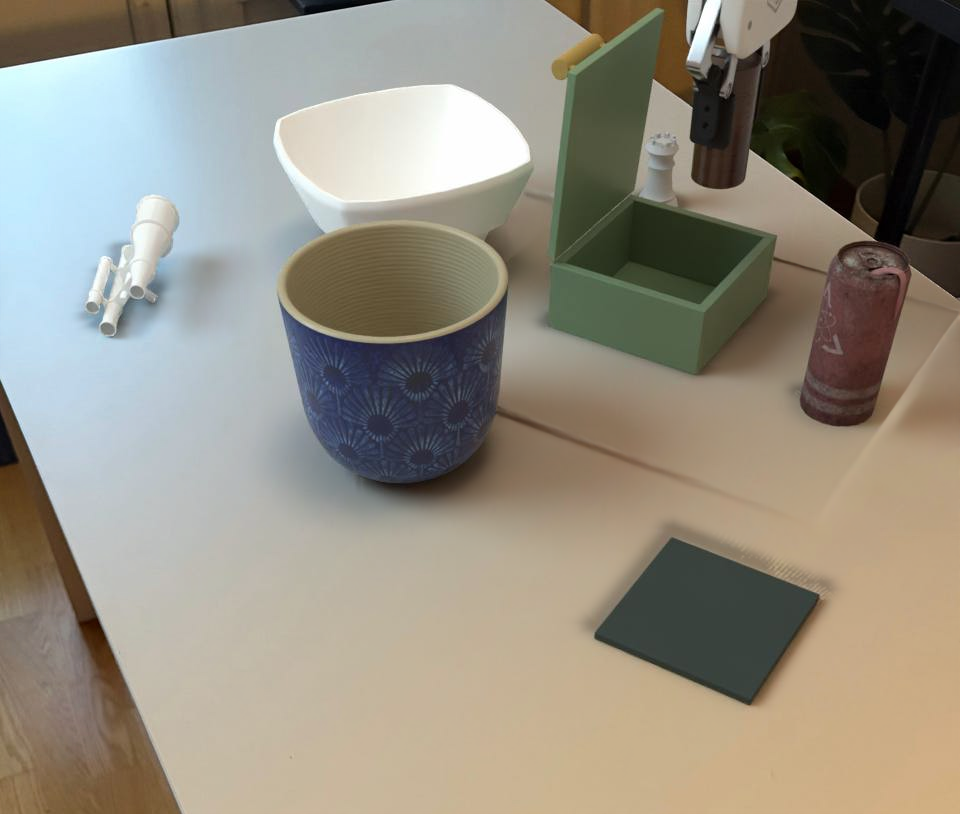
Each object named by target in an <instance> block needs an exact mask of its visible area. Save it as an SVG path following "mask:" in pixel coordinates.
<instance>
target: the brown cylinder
mask: <svg viewBox="0 0 960 814" xmlns="http://www.w3.org/2000/svg"><path fill="white" fill-rule="evenodd" d="M711 59H712V61H713V64H714V65H718V66H719V67H720V70H721V72H722V74H723V70H724V65H725V60H726V59H723V58H718V57H714V56H711ZM761 65H762V58H761V56H760V55H759V54H757V53H756V52H754V53H752V54H751V55H749V56H748V57H746V58H744V59H740V58H738V63H737V68H736V73H735V77H734V82H733V87H732V91H731V94H735V95H736V99H735V107H734V114H733V122H732V130H731V137H730V144H729V146H728V147H727V148H726V149H725V150H720V149H716V148H712V147H708V146H704V145H700V144H696V143H693V151H692V161H691V170H690V177H691V180H692V181H693V182H694V183H695V184H696V185H699V186H701V187H703V188H706V189H712V190H727V189H728V190H729V189H733V188H736V187H739V186H740V185H742V184H743V183H744V182H745V180H746V176H747V170H748V161H749V155H750V148H751V140H752V134H753V127H754V123H753V121H754V114H755V107H756V100H757V93H758V86H759V79H760V72H761V69H762V67H761Z"/></svg>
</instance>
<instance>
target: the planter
mask: <svg viewBox="0 0 960 814" xmlns="http://www.w3.org/2000/svg"><path fill="white" fill-rule="evenodd" d="M508 292H509V271H508V268H507V266H506V263H505V261H504V260H503V258H502V256H501V255H500V254H499V252H498V251H497V250H496V249H494V247H493V246H491V245H490V244H489V243H487V242H486V241H483V240H481V239H480V238H478V237H476V236H474V235H472V234H470V233H467V232H465V231H462V230H460V229H457V228H453V227H450V226H446V225H442V224H437V223H431V222H424V221H412V220H388V221H376V222H368V223H362V224H357V225H352V226H348V227H345V228H341V229H338V230H335V231H332V232H329V233H327V234H326V233H324V234H322V235H320V236H318V237H316V238H314V239H312V240H310V241H309V242H307V243H306V244H304V245H303V246H301V247H300V248H298V249H297V250H296V251H294V252H293V254H291V255H290V256H289V257H288V259H287V260H286V261H285V262H284V264H283V266H282V267H281V269H280V271H279V272H278V276H277V280H276V295H277V300H278V304H279V308H280V312H281V313H280V314H281V317H282V322H283V325H284V330H285V334H286V339H287V342H288V343H287V344H288V348H289V351H290V356H291V361H292V365H293V368H294V373H295V377H296V381H297V385H298V391H299V394H300V400H301V403H302V407H303V410H304V413H305V415H306V419H307V422H308V424H309V426H310V428H311V430H312V432H313V434H314V436H315V438H316V439H317V441H318V442H319V444H320V446H322V447H323V450H325V452H326V454H328V455H329V456H330V457H331V458H332V459H333V460H334V461H336V462H337V463H338V464H340V466H342V467H344V468H345V469H347V470H349V471H351V472H352V473H354V474H357V475H358V476H359V477H363V478H366V479H369V480H372V481H376V482H382V483H390V484H411V483H420V482H424V481H429V480H432V479H436V478H439V477H441V476H443V475H446V474H448V473H450V472H452V471H454V470H455V469H456V468H458V467H460V466H461V465H463V464H464V463H465V462H466V461H467V460H468V459H470V458H471V457H472V456H473V455H474V454H475V453H476V452H477V450H479V448H480V447H481V445H482V444H483V442H484V441H485V439H486V437H487V435H488V433H489V432H490V429H491V427H492V426H493V425H492V424H493V421H494V419H495V415H496V412H497V408H498V403H499V398H500V391H501V379H502V366H503V353H504V343H505V342H504V340H505V330H506V329H505V328H506V317H507V305H508Z"/></svg>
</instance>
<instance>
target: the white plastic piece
mask: <svg viewBox="0 0 960 814" xmlns="http://www.w3.org/2000/svg"><path fill="white" fill-rule="evenodd" d="M180 218H181V217H180V213H179V210H178V209H177V207H176V204H174V203H173V202H172V201H171V200H170V199H169V198H167V197H165V196H163V195H159V194H148V195H146V196H143V197H142V198H141V199H140V200H139V201H138V203H137V205H136V207H135V222H134V223H133V224H132V226H131V228H130V231H129V240H130V244H124V245H123V246H122V248H121V251H120V254H121V256H120V259H119V262H118V266H117V265H115V264H114V261H113V259H112V258H111V257H109V256H106V255H104V256H101V257H100V258H99V260H98V267H97V270H96V274H95V277H94V280H93V283H92V286H91V289H90V290H89V292H88V299H87V301H86V302H85V305H84V308H85V310H86V312H88V313H89V314H93V315H96V314H98V313H99V312H100V310H101V305H102V306H104V307H103V309H104V313H103V316H102V320H101V322H100V323H99V326H98V330H99V332H100V333H101V334H102V336H105V337H107V338H111V337H114V336H115V335H116V334H117V326H118V323H119V320H120V316H122V315H123V313H124V306H125V305H126V303H127V302H128V301H129V299H130V298H131V299H136V300H142V299H143V298H145V299H146V300H147V301H148V302H150V303H151V304H154V303H155V302H156V300H157V298H158V295H157V294H156V293H154V292H153V291H152V290H151V289H149V288H148V285H150V283H152V282H154V280H155V279H156V277H157V267H158V264H159V261H160V260H161V259H163V258H165V257H167V256H168V255H169V254H170V253H171V251H172V249H173V246H174V237H173V236H174V233H176V231H177V229H178V228H179V224H180V220H181V219H180ZM110 273H113V278H114V279H113V283H112V286H111V290H110V293H109V297H108V299H107V298H106V297H104V292H105V290H106V286H107V282H108V279H109V277H110Z"/></svg>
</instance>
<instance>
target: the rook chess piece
mask: <svg viewBox="0 0 960 814" xmlns="http://www.w3.org/2000/svg"><path fill="white" fill-rule="evenodd" d="M661 134H662V133H661V131H658V132H655V133H654V134H651V135H650V139H649V141H648V142H647V144H646V145H645V151H646V152H647V153H648V155H649V157H648V159H647V161H646V165H647V173H646V178H645V183H644V185H643V188H642V190H641V191H640V193H639V195H638V196H639V197H642V198H646V199H650V200H653V201H657V202H660V203H664V204H667V205H671V206H674V207H678V208H679V203H678V199H677V197H676V192H675V191H674V189H673V171H674V169H673V168H674V167H675V165H676V161H675V160H674V157H675V155H676V154H677V153H678V151H679V150H680V146H679V144H678V143H677V136H676V135H675V134H671V132H667V131H664V135H663V136H661ZM670 135H671V136H670Z"/></svg>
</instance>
